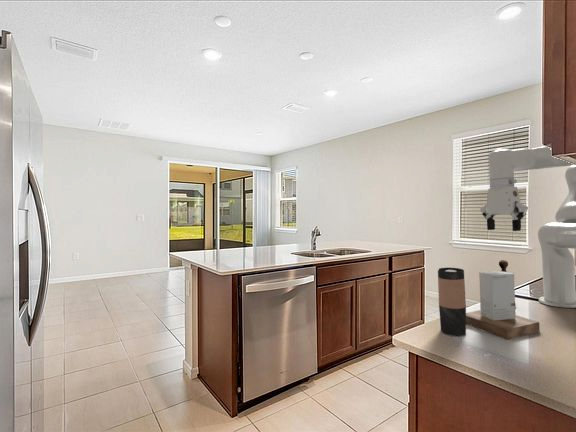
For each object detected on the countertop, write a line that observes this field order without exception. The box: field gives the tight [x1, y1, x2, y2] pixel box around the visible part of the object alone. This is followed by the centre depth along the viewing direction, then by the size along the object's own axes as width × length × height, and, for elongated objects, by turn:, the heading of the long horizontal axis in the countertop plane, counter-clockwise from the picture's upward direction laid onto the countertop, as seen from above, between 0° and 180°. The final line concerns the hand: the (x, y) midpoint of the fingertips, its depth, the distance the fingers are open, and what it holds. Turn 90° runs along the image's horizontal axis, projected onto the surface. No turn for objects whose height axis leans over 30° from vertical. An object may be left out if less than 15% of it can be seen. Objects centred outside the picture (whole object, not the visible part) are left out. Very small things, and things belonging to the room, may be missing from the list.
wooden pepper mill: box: [498, 259, 517, 308], centre depth 123 cm, size 7×6×18 cm
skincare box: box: [478, 270, 517, 321], centre depth 103 cm, size 8×6×15 cm
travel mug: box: [437, 267, 467, 337], centre depth 101 cm, size 8×8×20 cm
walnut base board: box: [466, 309, 540, 340], centre depth 103 cm, size 14×16×3 cm
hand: (503, 230), depth 117 cm, fingers open, 9 cm apart
